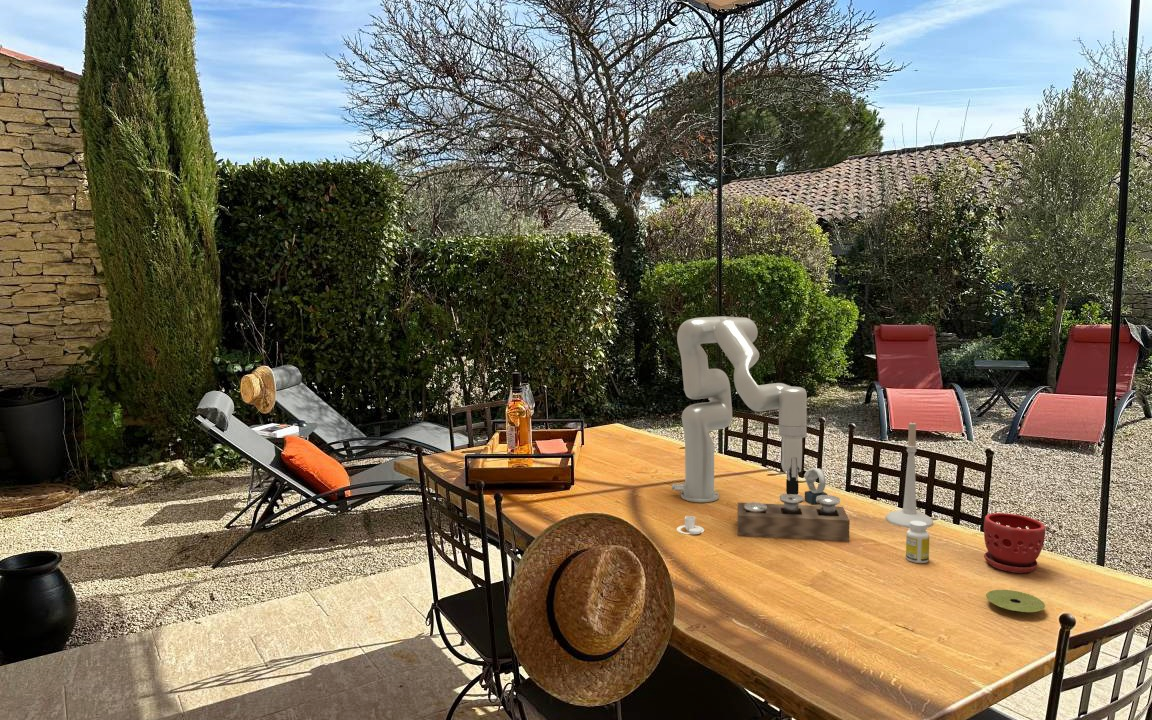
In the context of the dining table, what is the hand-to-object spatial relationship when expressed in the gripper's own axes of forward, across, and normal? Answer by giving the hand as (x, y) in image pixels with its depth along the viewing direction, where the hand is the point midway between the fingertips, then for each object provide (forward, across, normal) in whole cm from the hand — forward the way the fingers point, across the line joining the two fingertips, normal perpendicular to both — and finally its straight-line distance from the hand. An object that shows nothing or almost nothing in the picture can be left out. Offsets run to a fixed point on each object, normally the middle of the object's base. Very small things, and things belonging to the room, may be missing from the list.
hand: (792, 493), depth 213 cm
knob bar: (+11, 0, 0) cm, 11 cm away
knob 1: (+10, 0, -10) cm, 14 cm away
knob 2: (+7, 0, +10) cm, 12 cm away
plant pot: (+12, +18, +52) cm, 56 cm away
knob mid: (+6, 0, 0) cm, 7 cm away
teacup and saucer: (+12, +5, -31) cm, 33 cm away
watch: (+11, -29, +10) cm, 33 cm away
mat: (+12, +43, +44) cm, 62 cm away
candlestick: (+12, -14, +35) cm, 39 cm away
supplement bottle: (+12, +17, +30) cm, 36 cm away
